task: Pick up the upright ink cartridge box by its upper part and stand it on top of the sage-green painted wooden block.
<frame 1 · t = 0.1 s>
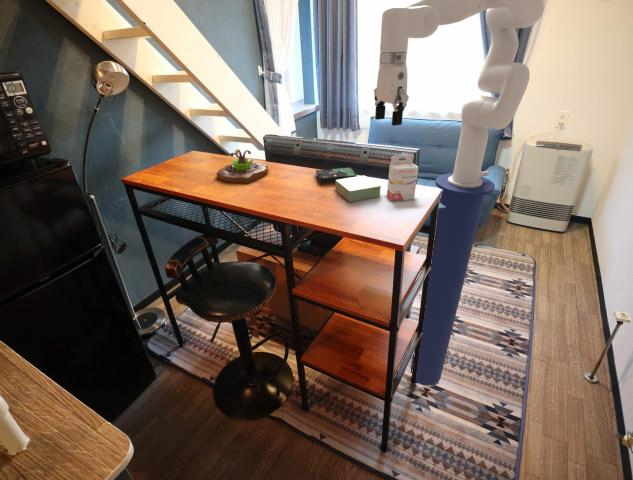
hand: (387, 122, 106), 26 cm above the table, tool pointing down, fingers open, 9 cm apart
plant: (242, 175, 146), on the table
green block: (357, 193, 126), on the table
disk drive: (335, 179, 139), on the table
ink cartridge box: (400, 198, 121), on the table
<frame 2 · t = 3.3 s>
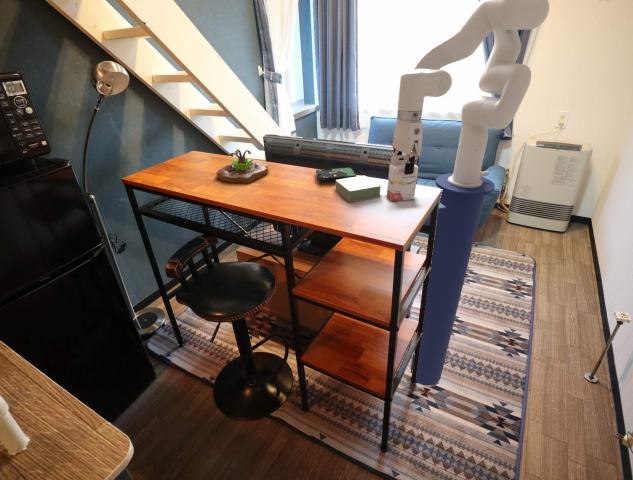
hand: (403, 170, 116), 10 cm above the table, tool pointing down, fingers closed on ink cartridge box, 5 cm apart
ink cartridge box: (400, 198, 121), on the table, touching gripper
everything else where it was.
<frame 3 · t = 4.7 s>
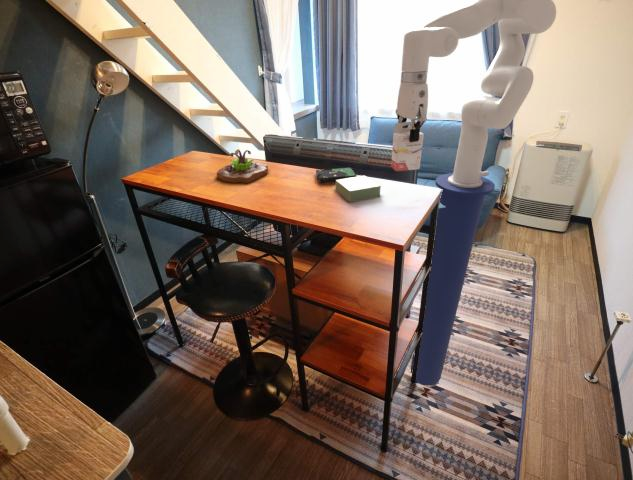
hand: (408, 138, 111), 21 cm above the table, tool pointing down, fingers closed on ink cartridge box, 5 cm apart
ink cartridge box: (405, 168, 116), point 10 cm above the table, touching gripper
everything else where it was.
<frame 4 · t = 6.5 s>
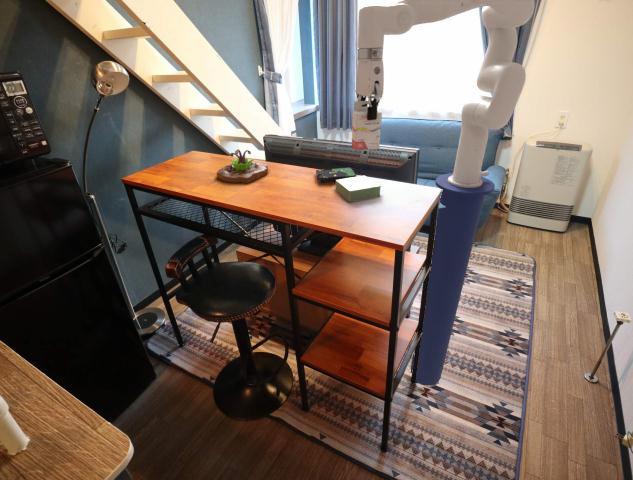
hand: (366, 117, 112), 27 cm above the table, tool pointing down, fingers closed on ink cartridge box, 5 cm apart
ink cartridge box: (365, 148, 117), point 17 cm above the table, touching gripper
everything else where it was.
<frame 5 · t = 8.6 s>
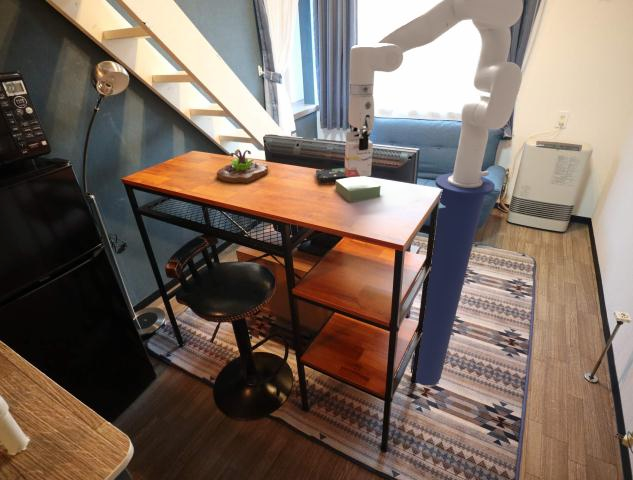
hand: (358, 147, 117), 17 cm above the table, tool pointing down, fingers closed on ink cartridge box, 5 cm apart
ink cartridge box: (357, 175, 122), point 7 cm above the table, touching gripper
everything else where it was.
when the fingers open (14 cm above the table, at t = 9.9 s): ink cartridge box stays where it is, resting on green block.
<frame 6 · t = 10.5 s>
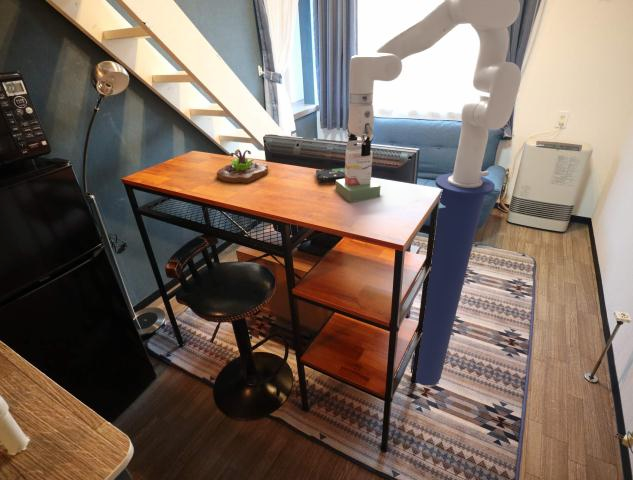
hand: (358, 152, 118), 15 cm above the table, tool pointing down, fingers open, 9 cm apart
ink cartridge box: (357, 183, 124), point 4 cm above the table, touching green block
everything else where it was.
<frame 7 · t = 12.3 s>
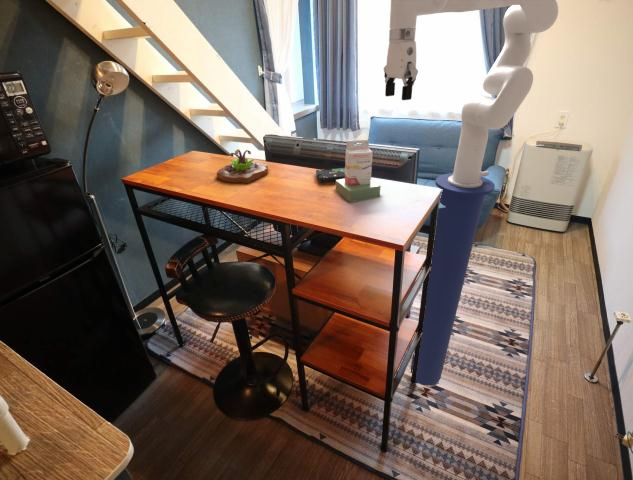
hand: (397, 97, 110), 32 cm above the table, tool pointing down, fingers open, 9 cm apart
nothing on the table moved.
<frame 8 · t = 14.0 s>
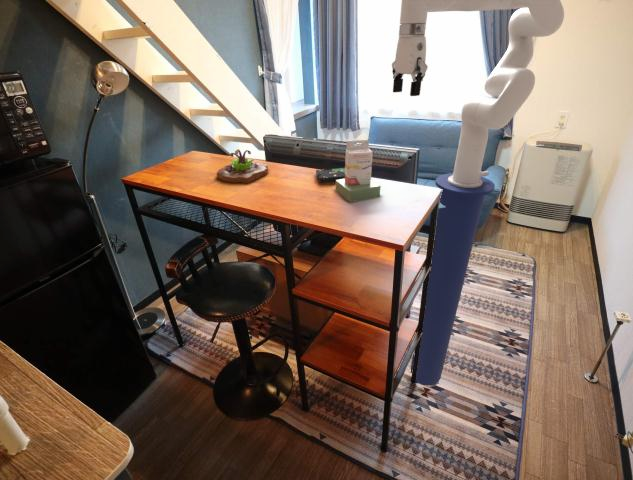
hand: (405, 93, 110), 33 cm above the table, tool pointing down, fingers open, 9 cm apart
nothing on the table moved.
at the end: ink cartridge box inside the target area on the green block (0.1 cm from its centre), point 3.8 cm above the green block's base; ink cartridge box tilted 0°; the gripper is holding nothing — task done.
